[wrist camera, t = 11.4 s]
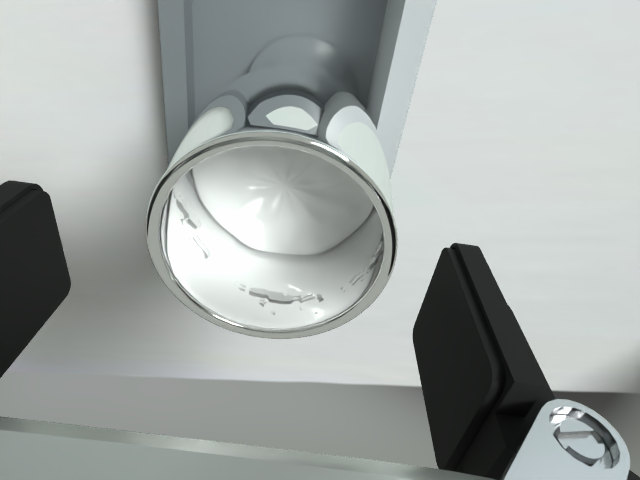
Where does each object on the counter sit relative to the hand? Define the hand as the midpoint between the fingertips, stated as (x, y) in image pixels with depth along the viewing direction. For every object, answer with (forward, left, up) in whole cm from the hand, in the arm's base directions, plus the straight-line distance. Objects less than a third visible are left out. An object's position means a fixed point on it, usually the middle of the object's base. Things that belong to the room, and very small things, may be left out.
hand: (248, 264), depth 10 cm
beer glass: (-1, 0, -16) cm, 16 cm away
